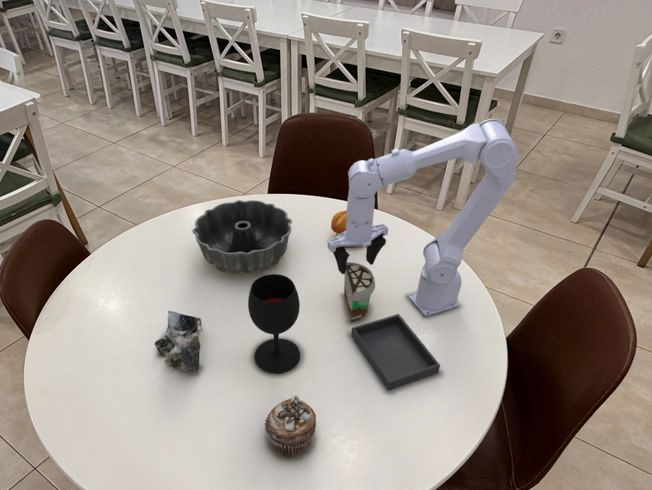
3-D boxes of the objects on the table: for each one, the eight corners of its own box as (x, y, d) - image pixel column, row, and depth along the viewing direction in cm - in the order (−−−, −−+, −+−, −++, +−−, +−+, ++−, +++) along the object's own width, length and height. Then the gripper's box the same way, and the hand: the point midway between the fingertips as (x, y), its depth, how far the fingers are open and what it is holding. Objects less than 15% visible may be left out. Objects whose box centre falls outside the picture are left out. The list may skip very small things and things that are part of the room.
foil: (219, 316, 116) (194, 329, 101) (214, 360, 118) (188, 379, 104) (173, 307, 118) (142, 318, 103) (168, 350, 120) (137, 367, 106)
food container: (377, 324, 117) (381, 292, 110) (351, 326, 117) (353, 294, 110) (366, 290, 126) (370, 259, 119) (342, 292, 126) (344, 260, 119)
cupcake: (291, 409, 100) (290, 377, 93) (326, 439, 95) (327, 408, 88) (255, 438, 96) (251, 407, 89) (289, 471, 91) (288, 440, 84)
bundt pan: (264, 219, 152) (262, 189, 145) (311, 263, 135) (311, 232, 128) (184, 247, 142) (177, 217, 135) (223, 298, 126) (218, 266, 119)
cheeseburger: (369, 252, 138) (362, 221, 131) (332, 254, 142) (324, 224, 136) (374, 231, 145) (369, 201, 138) (339, 234, 149) (332, 205, 142)
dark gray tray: (397, 321, 118) (398, 313, 116) (438, 373, 106) (440, 365, 104) (351, 336, 115) (351, 327, 113) (387, 390, 103) (389, 382, 101)
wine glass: (266, 380, 106) (260, 312, 92) (246, 349, 113) (237, 281, 99) (308, 362, 109) (308, 294, 95) (287, 333, 116) (284, 265, 102)
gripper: (339, 235, 102) (337, 285, 112) (398, 217, 107) (391, 267, 116) (323, 218, 107) (322, 268, 117) (380, 202, 111) (375, 251, 121)
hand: (355, 267), depth 117 cm, fingers open, 7 cm apart
